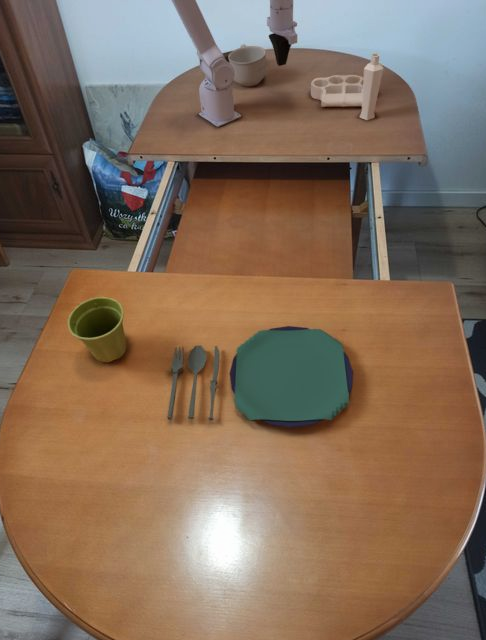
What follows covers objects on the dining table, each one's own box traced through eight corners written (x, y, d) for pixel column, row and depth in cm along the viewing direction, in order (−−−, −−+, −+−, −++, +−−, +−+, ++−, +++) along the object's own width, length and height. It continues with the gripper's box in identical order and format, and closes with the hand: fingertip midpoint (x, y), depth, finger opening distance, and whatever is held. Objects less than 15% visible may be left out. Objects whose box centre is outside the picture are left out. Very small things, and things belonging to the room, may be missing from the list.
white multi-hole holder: (309, 110, 135) (311, 85, 144) (377, 109, 132) (375, 84, 141) (309, 97, 132) (312, 73, 141) (379, 97, 129) (377, 71, 138)
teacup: (266, 89, 144) (265, 59, 138) (229, 91, 145) (227, 62, 139) (266, 68, 153) (265, 39, 147) (231, 70, 154) (229, 42, 148)
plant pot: (73, 363, 87) (56, 332, 81) (100, 324, 93) (85, 291, 86) (120, 376, 85) (106, 344, 78) (144, 335, 90) (133, 302, 83)
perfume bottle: (355, 113, 132) (363, 52, 120) (372, 111, 132) (380, 49, 120) (360, 121, 129) (368, 60, 117) (377, 119, 129) (386, 57, 117)
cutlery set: (358, 433, 75) (360, 425, 73) (163, 433, 77) (160, 426, 76) (345, 331, 87) (347, 323, 85) (177, 334, 90) (175, 326, 88)
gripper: (309, 11, 118) (307, 71, 129) (284, -7, 127) (284, 51, 137) (282, 17, 117) (282, 77, 128) (258, -1, 126) (260, 56, 136)
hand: (281, 64), depth 133 cm, fingers closed
